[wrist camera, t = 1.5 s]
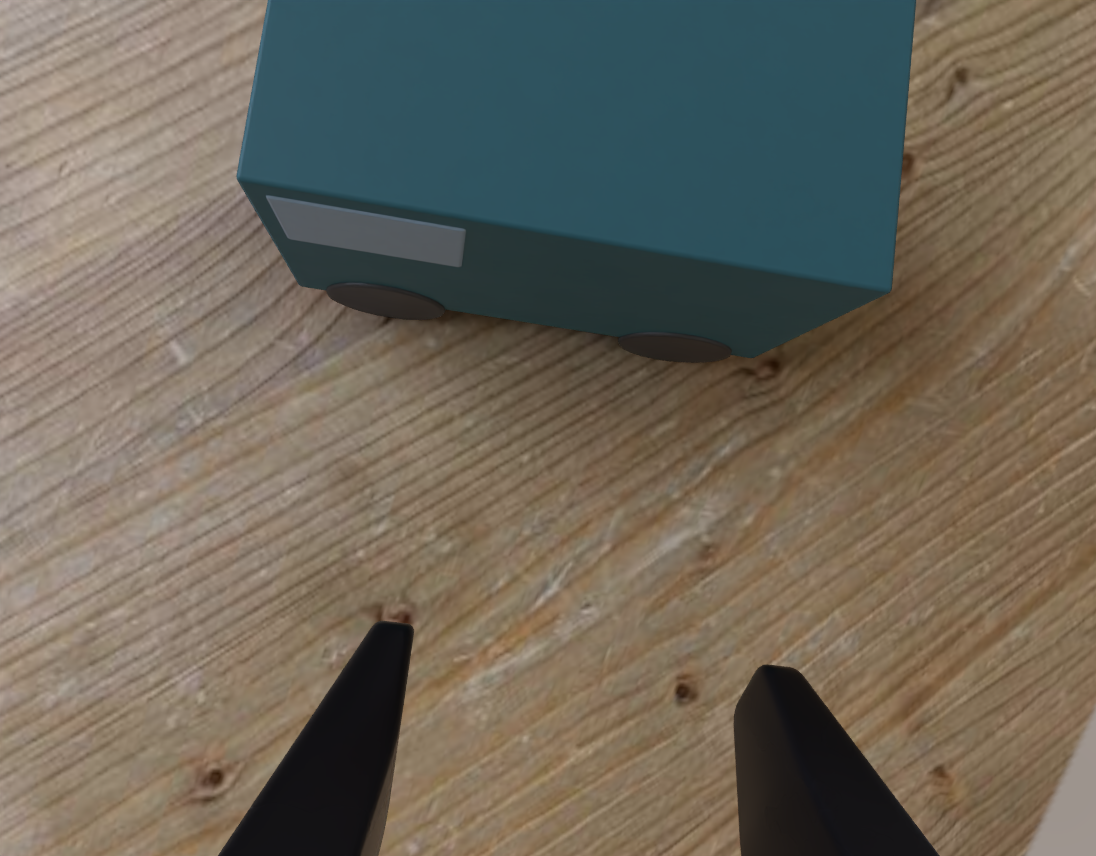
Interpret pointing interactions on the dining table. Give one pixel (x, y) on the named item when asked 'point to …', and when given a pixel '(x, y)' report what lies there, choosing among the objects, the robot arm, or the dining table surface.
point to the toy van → (587, 161)
